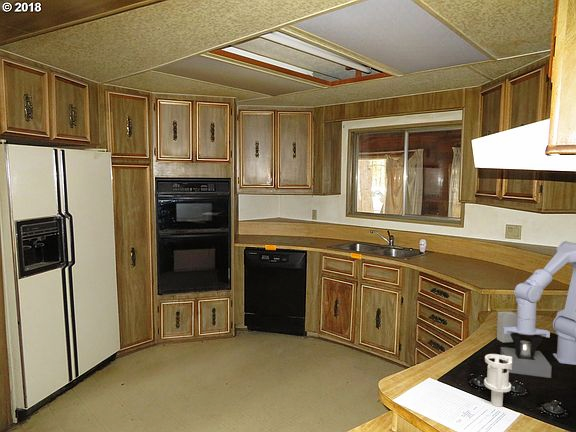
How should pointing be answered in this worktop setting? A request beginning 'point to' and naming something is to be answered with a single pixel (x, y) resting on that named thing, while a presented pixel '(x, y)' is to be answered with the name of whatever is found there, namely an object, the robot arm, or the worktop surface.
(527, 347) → the peg
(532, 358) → the socket block
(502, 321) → the skincare box
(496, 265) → the worktop surface
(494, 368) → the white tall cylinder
